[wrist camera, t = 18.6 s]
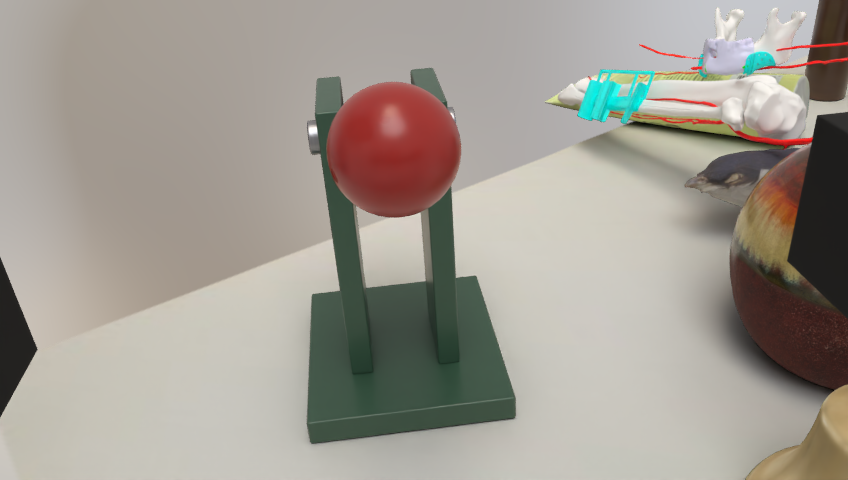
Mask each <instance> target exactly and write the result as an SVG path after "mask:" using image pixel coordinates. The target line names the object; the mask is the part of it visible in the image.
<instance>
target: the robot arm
mask: <svg viewBox="0 0 848 480" xmlns="http://www.w3.org/2000/svg"><path fill="white" fill-rule="evenodd" d="M787 262H788V263H790V264H791V265H792V266H793V267H794V268H795V269H796V270H797V271H798V272H799V273H800V274H801V275H802V276H803V277H804V278H805V279H806V280H807V281H808V282H809V283H810V284H812V285H813V286H814V287H815V288H816V289H817V290H818V291H819V292H820V293H821V294H822V295H823V296H824V297H825V298H826V299H827V300H828V301H829V302H830V303H831V304H832V305H834V306H835V307H836V308H837V309H838V310H839V311H840V312H841V313H842V314H843V315H844V316H845V317H846V318H847V319H848V112H845V113H835V114H826V115H817V119H816V124H815V129H814V134H813V139H812V143H811V148H810V153H809V158H808V162H807V167H806V172H805V177H804V182H803V186H802V191H801V196H800V201H799V206H798V210H797V215H796V220H795V225H794V230H793V234H792V239H791V244H790V249H789V254H788V258H787ZM36 351H37V347H36V344H35V342H34V340H33V337H32V335H31V332H30V330H29V327H28V325H27V322H26V320H25V318H24V315H23V312H22V310H21V307H20V305H19V302H18V300H17V298H16V296H15V293H14V290H13V288H12V285H11V283H10V280H9V278H8V275H7V273H6V270H5V268H4V265H3V263H2V260H1V258H0V417H1V415H2V413H3V411H4V409H5V408H6V406H7V404H8V402H9V400H10V399H11V397H12V395H13V393H14V391H15V389H16V388H17V386H18V384H19V382H20V380H21V378H22V377H23V375H24V373H25V371H26V369H27V368H28V366H29V364H30V362H31V360H32V358H33V357H34V355H35V353H36Z"/></svg>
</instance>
